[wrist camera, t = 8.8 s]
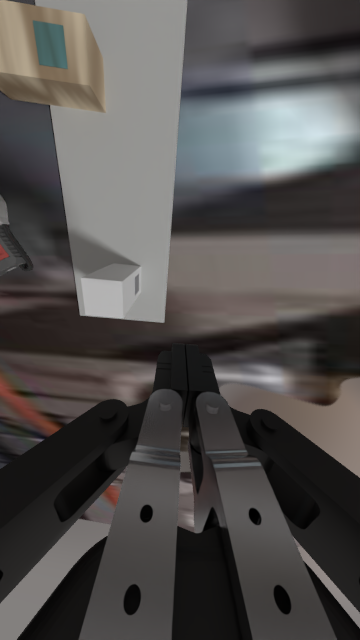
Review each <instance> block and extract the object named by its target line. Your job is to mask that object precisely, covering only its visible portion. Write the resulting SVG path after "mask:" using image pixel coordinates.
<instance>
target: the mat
mask: <svg viewBox="0 0 360 640" xmlns="http://www.w3.org/2000/svg"><path fill="white" fill-rule="evenodd" d="M35 5H36V6H41V7H47V8H52V9H58V10H64V11H70V12H76V13H82V14H85V16H86V19H87V21H88V23H89V26H90V28H91V31H92V33H93V35H94V38H95V40H96V42H97V45H98V47H99V49H100V52H101V54H102V57H103V65H104V84H105V104H106V113H102V112H96V111H89V110H82V109H75V108H68V107H61V106H54V105H50V109H51V116H52V123H53V130H54V137H55V144H56V151H57V158H58V165H59V172H60V179H61V186H62V193H63V199H64V206H65V213H66V220H67V227H68V234H69V241H70V248H71V255H72V262H73V269H74V276H75V283H76V290H77V297H78V304H79V311H80V315H82V316H90V315H85V308H84V300H83V292H82V284H81V277H83V276H85V275H88V274H90V273H92V272H95V271H97V270H99V269H102V268H104V267H106V266H109V265H111V264H113V263H116V264H126V265H136V266H141V293H140V294H139V296H138V297H137V299H136V300H135V302H134V303H133V305H132V306H131V308H130V309H129V311H128V312H127V314H126V315H125V317H124V318H116V319H128V320H139V321H151V322H162V323H164V318H165V304H166V290H167V276H168V263H169V249H170V235H171V221H172V207H173V193H174V179H175V165H176V152H177V138H178V124H179V110H180V96H181V82H182V68H183V54H184V40H185V27H186V13H187V0H35ZM93 317H102V316H93ZM105 318H113V317H105Z"/></svg>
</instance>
